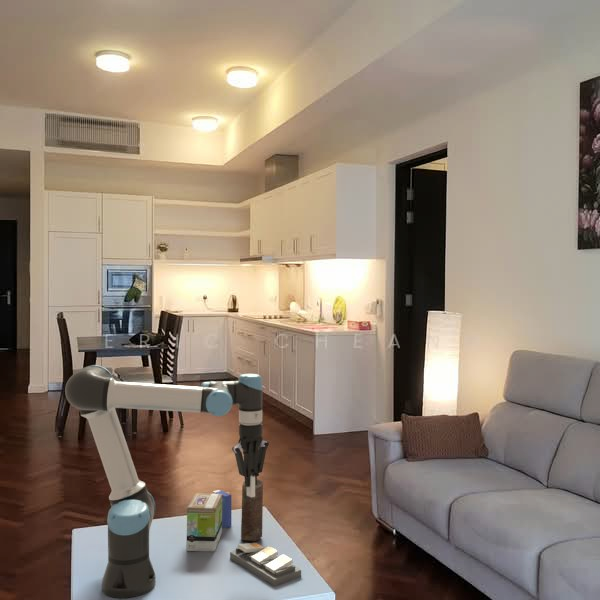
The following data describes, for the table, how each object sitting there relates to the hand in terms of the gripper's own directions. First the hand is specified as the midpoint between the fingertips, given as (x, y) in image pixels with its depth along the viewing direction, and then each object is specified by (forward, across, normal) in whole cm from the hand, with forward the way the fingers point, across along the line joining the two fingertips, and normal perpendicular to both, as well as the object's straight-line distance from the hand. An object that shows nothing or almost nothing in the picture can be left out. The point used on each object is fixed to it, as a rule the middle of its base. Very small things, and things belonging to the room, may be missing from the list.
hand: (250, 495), depth 202 cm
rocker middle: (+17, 0, -8) cm, 18 cm away
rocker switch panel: (+20, 0, -8) cm, 22 cm away
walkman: (+21, +8, +30) cm, 38 cm away
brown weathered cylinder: (+21, +9, +12) cm, 26 cm away
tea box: (+21, -5, +20) cm, 30 cm away
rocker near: (+17, 0, -15) cm, 23 cm away
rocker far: (+17, 0, 0) cm, 17 cm away
